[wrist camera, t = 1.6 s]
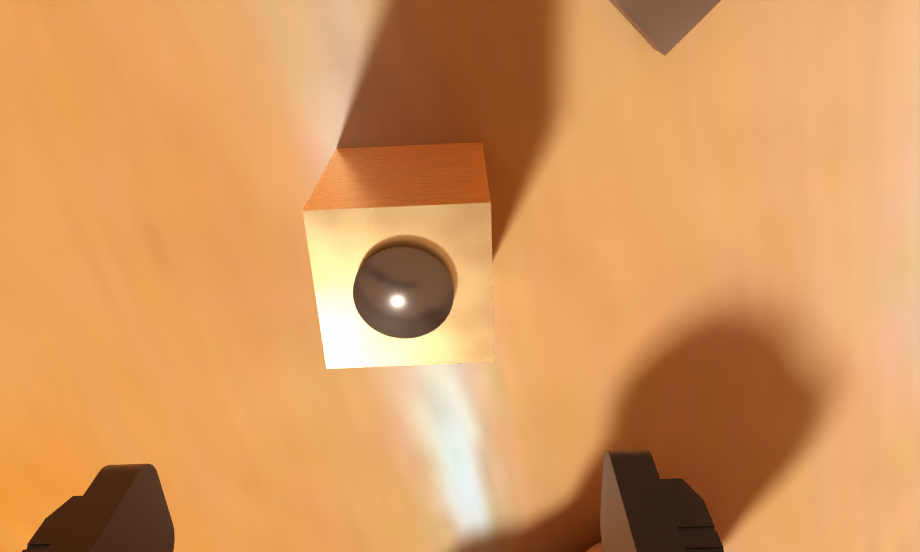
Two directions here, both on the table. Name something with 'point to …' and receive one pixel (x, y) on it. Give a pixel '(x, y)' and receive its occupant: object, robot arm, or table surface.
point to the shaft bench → (664, 19)
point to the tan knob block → (403, 256)
